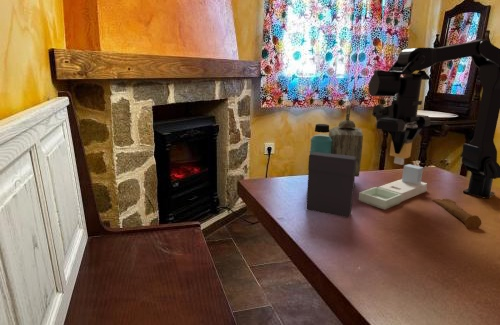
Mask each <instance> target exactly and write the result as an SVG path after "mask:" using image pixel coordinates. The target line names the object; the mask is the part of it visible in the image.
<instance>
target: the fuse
mask: <svg viewBox="0 0 500 325" xmlns="http://www.w3.org/2000/svg"><path fill="white" fill-rule="evenodd" d="M423 173H424V167H423V166H418V165H415V164H410V163H409V164H403V170H402V175H401V176H402V178H401V179H402V182H406V183H410V184H414V185H418V184H420V183H421V182H422V180H423V179H422V178H423Z"/></svg>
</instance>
